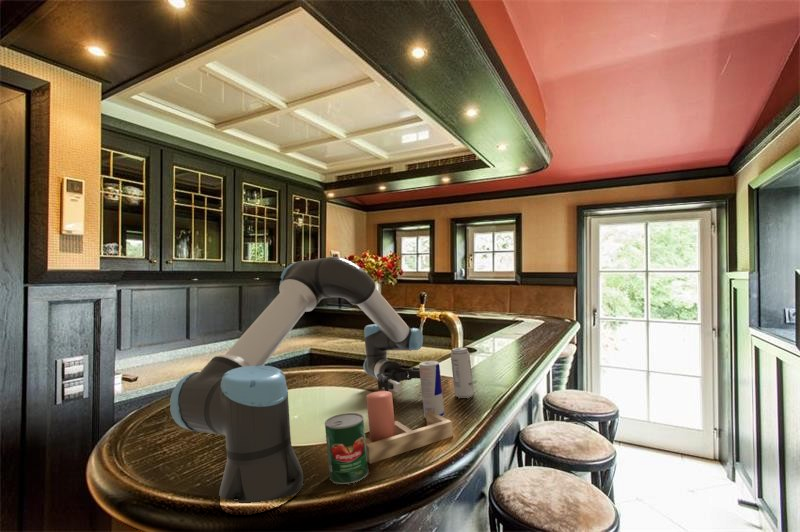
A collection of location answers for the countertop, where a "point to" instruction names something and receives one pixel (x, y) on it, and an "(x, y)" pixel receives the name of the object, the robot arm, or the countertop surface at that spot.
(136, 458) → the countertop surface
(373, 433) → the plug
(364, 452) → the canned tomato
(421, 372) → the beverage can
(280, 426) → the robot arm
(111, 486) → the countertop surface
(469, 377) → the energy drink can
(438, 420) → the holder
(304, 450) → the countertop surface
